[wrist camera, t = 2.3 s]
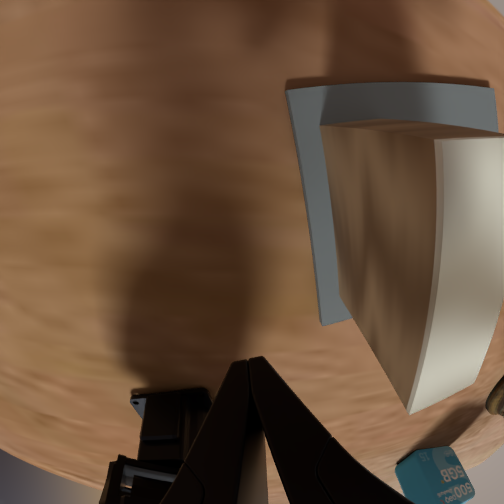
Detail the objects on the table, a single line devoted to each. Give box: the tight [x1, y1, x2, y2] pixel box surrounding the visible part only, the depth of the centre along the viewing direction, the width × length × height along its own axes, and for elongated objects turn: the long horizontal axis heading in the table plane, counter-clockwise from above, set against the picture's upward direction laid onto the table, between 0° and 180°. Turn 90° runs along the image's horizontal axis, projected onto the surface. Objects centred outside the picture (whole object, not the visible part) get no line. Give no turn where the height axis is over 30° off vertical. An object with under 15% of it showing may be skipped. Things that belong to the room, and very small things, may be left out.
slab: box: [319, 119, 504, 415], centre depth 12 cm, size 10×4×9 cm, turn 12°
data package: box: [395, 446, 475, 504], centre depth 29 cm, size 12×4×12 cm, turn 64°
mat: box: [285, 82, 498, 326], centre depth 16 cm, size 14×15×1 cm
